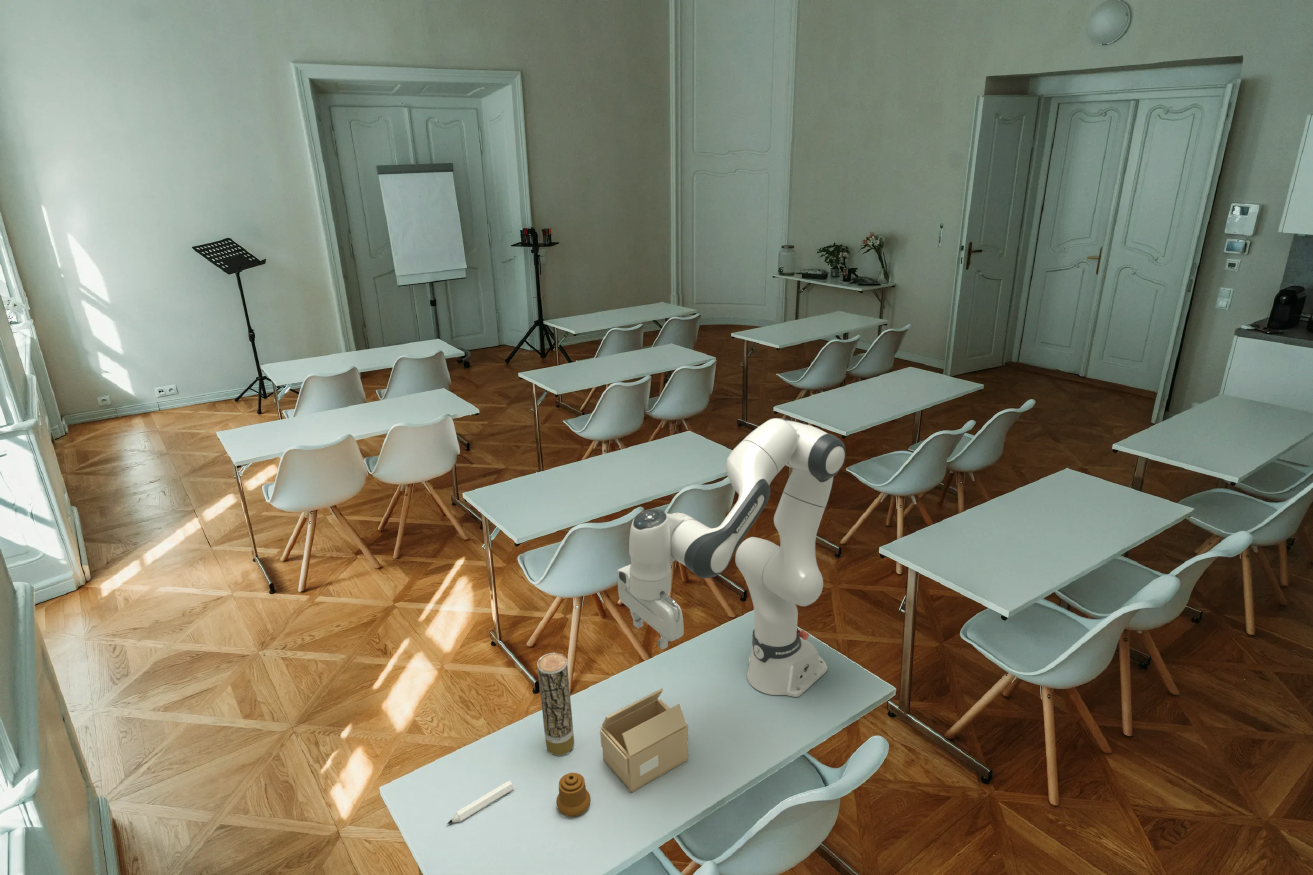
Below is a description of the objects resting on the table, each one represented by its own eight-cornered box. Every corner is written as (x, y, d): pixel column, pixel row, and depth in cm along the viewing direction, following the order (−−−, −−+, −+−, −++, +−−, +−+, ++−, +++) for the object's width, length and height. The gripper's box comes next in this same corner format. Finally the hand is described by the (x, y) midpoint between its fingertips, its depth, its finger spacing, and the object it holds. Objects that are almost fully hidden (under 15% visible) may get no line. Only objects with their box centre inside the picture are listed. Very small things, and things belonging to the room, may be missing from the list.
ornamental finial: (569, 824, 166) (550, 804, 171) (597, 805, 171) (577, 785, 176) (567, 797, 163) (547, 776, 168) (595, 778, 167) (575, 758, 173)
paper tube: (569, 758, 183) (561, 673, 174) (542, 754, 184) (533, 670, 175) (578, 737, 189) (570, 654, 180) (551, 734, 191) (543, 651, 181)
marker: (446, 829, 167) (511, 789, 176) (450, 831, 165) (515, 791, 175) (442, 818, 167) (507, 778, 176) (445, 820, 165) (510, 780, 175)
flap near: (630, 756, 170) (622, 734, 170) (629, 755, 170) (621, 733, 170) (686, 725, 178) (679, 704, 178) (685, 724, 178) (678, 703, 178)
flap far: (656, 696, 187) (662, 688, 183) (657, 698, 186) (663, 689, 183) (601, 725, 178) (606, 716, 175) (602, 726, 178) (607, 718, 175)
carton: (660, 729, 191) (659, 696, 187) (690, 758, 182) (689, 725, 178) (601, 761, 182) (598, 728, 178) (629, 794, 173) (627, 760, 169)
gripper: (691, 599, 160) (690, 654, 165) (636, 558, 176) (636, 610, 181) (666, 609, 157) (666, 665, 162) (612, 567, 172) (613, 619, 177)
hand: (650, 636), depth 172 cm, fingers open, 8 cm apart
